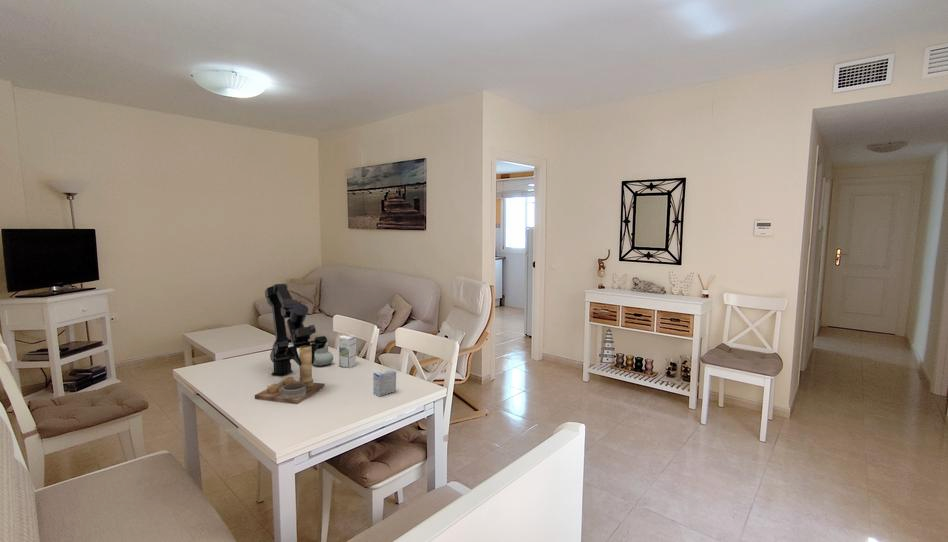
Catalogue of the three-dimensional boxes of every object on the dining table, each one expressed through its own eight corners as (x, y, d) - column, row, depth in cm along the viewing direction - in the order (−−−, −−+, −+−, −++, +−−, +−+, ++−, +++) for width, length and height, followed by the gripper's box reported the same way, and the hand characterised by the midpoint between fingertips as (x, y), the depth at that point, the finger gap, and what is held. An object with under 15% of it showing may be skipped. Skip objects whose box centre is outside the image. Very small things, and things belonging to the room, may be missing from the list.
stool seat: (254, 398, 162) (254, 387, 162) (285, 382, 180) (285, 372, 179) (297, 404, 158) (296, 392, 158) (324, 387, 176) (324, 376, 176)
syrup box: (356, 364, 206) (356, 335, 205) (349, 368, 201) (348, 337, 199) (346, 363, 208) (346, 333, 207) (338, 366, 202) (338, 336, 201)
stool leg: (297, 380, 165) (296, 347, 164) (307, 377, 169) (306, 344, 167) (304, 382, 162) (304, 349, 161) (314, 379, 166) (314, 346, 165)
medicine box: (389, 389, 176) (390, 368, 175) (396, 392, 172) (396, 371, 172) (372, 393, 170) (373, 372, 169) (379, 397, 167) (379, 375, 166)
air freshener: (308, 363, 207) (308, 342, 206) (325, 359, 213) (325, 340, 212) (318, 368, 199) (317, 347, 198) (335, 365, 205) (335, 344, 204)
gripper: (276, 321, 160) (285, 357, 153) (325, 315, 172) (336, 349, 165) (270, 337, 167) (279, 372, 160) (318, 331, 179) (328, 364, 172)
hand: (306, 364), depth 164 cm, fingers closed on stool leg, 4 cm apart
